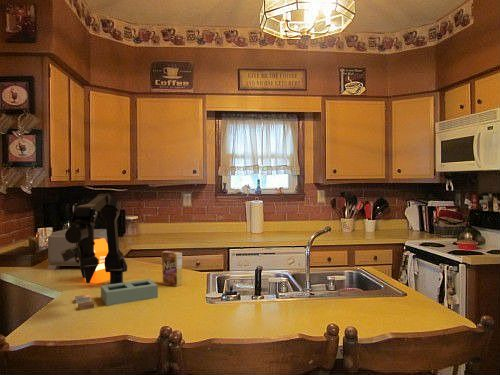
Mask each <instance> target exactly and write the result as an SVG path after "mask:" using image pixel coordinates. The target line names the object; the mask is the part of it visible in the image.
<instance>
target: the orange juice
mask: <svg viewBox="0 0 500 375" xmlns="http://www.w3.org/2000/svg"><path fill="white" fill-rule="evenodd" d="M94 242H95V245H94V253H95V256H96V257H97V258H98V259H99V264H98V266H97V268H96V270H95V272H94V274H93V276H92V279H91V281H90V283H91V284H98V283H99V284H100V283H102V282H105V281H110V272H106V271H105V265H104V262H105V257H106V255H107V254H108V244H107V242H106V240H105V238H103V239H96V240H94ZM84 282H85V283H86V279H85V278H84ZM90 283H89V284H90Z"/></svg>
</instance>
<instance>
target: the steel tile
mask: <svg viewBox="0 0 500 375" xmlns="http://www.w3.org/2000/svg"><path fill="white" fill-rule="evenodd" d="M89 301H91V296H90V294H84V295H75V296H74V302H75V304H78V303H83V302H89Z"/></svg>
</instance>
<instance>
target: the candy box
mask: <svg viewBox="0 0 500 375" xmlns="http://www.w3.org/2000/svg"><path fill="white" fill-rule="evenodd" d="M161 255H162V256H161V258H162V260H161V262H162V263H161V264H162V266H161V269H162V270H161V271H162V284H163V285H167V286H173V287H176V288H177V287H180V286H182V285H183V252H181V251H172V250H171V251H170V250H165V251H162V252H161Z"/></svg>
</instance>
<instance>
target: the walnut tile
mask: <svg viewBox="0 0 500 375" xmlns="http://www.w3.org/2000/svg"><path fill="white" fill-rule="evenodd" d="M77 305H78V307H77V308H78V310H79V311H85V310H91V309H95V303H94V301H93V300H90V301H88V302H81V303H77Z"/></svg>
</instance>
